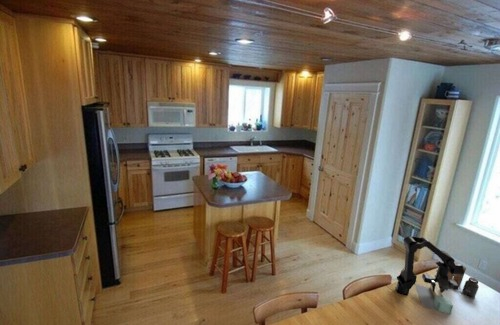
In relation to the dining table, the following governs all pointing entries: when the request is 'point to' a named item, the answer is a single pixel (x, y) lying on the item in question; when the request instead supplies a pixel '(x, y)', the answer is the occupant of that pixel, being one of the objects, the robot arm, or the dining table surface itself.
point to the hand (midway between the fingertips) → (436, 292)
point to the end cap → (443, 304)
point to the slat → (436, 291)
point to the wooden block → (456, 276)
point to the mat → (425, 296)
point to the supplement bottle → (470, 287)
